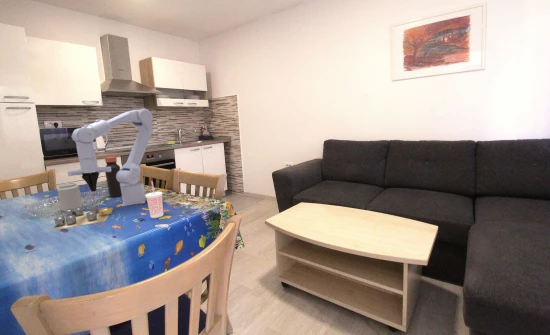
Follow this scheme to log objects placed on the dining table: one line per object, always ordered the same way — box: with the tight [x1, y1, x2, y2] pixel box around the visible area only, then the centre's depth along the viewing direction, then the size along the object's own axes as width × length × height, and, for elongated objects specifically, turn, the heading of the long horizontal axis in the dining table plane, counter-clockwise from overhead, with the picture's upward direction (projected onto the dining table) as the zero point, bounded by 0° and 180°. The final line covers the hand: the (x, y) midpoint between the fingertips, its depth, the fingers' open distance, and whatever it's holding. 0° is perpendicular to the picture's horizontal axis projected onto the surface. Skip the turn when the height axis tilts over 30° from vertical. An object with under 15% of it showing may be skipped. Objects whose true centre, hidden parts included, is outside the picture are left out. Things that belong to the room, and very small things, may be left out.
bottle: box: [104, 156, 122, 198], centre depth 136 cm, size 7×7×20 cm
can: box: [56, 182, 84, 212], centre depth 116 cm, size 8×8×12 cm
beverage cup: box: [145, 180, 164, 219], centre depth 104 cm, size 6×6×14 cm
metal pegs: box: [53, 204, 100, 228], centre depth 104 cm, size 13×13×3 cm
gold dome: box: [99, 206, 113, 217], centre depth 108 cm, size 4×4×2 cm
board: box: [53, 207, 114, 231], centre depth 105 cm, size 16×17×1 cm
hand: (93, 190), depth 109 cm, fingers closed
